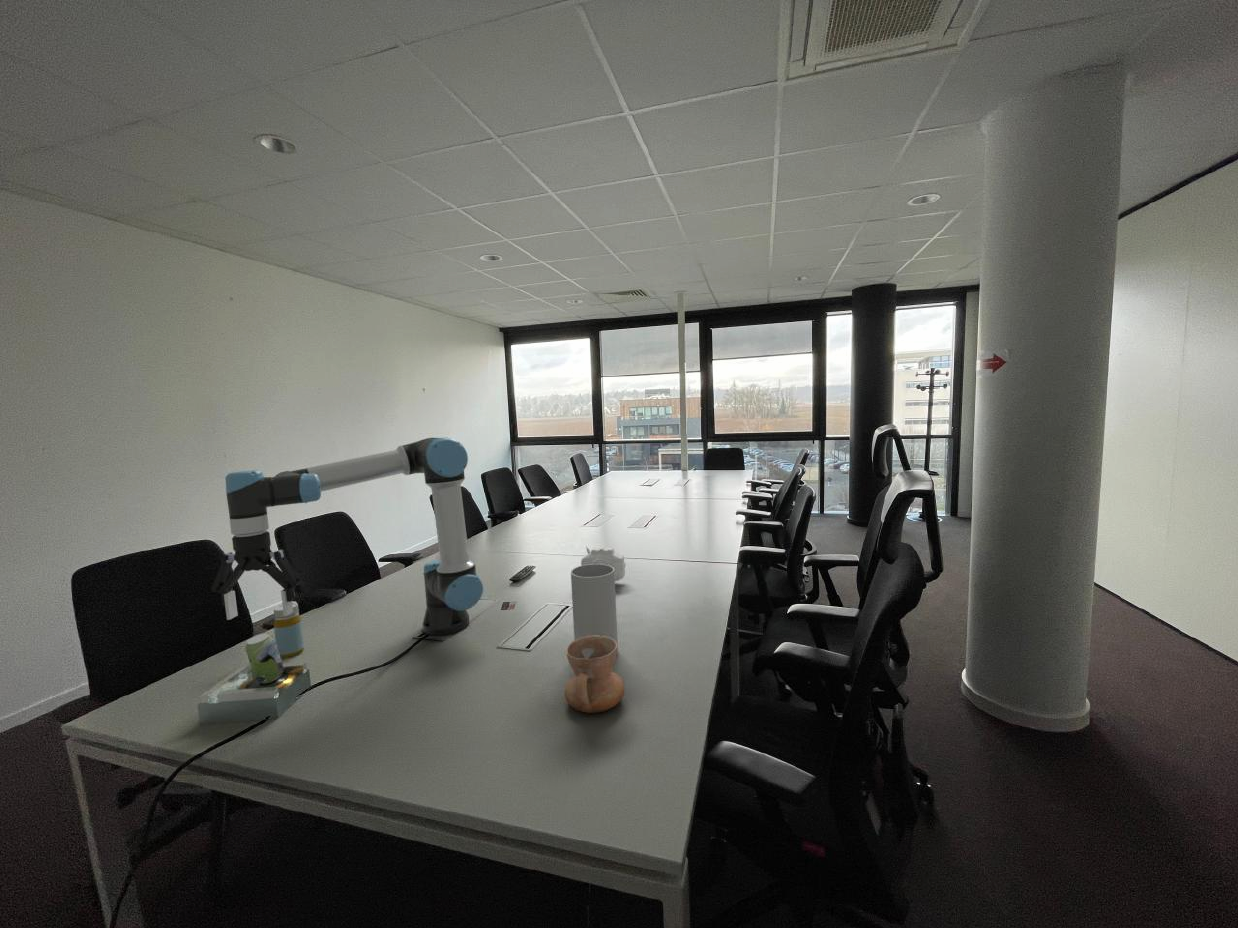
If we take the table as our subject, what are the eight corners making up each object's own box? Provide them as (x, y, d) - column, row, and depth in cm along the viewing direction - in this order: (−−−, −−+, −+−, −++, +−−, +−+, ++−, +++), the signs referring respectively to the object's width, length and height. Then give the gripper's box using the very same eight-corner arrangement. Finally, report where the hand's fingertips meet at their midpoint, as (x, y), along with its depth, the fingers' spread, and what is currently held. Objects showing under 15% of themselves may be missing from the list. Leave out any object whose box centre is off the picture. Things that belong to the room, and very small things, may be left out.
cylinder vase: (625, 647, 147) (621, 566, 144) (606, 667, 135) (602, 579, 133) (588, 641, 152) (584, 562, 150) (567, 660, 141) (562, 575, 138)
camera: (586, 580, 210) (584, 543, 209) (627, 580, 207) (625, 543, 206) (579, 589, 200) (577, 550, 198) (623, 589, 197) (621, 550, 195)
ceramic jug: (580, 679, 130) (576, 628, 128) (633, 685, 125) (630, 632, 124) (551, 722, 113) (546, 663, 111) (611, 730, 108) (607, 669, 107)
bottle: (290, 659, 149) (285, 611, 148) (271, 658, 151) (266, 610, 149) (309, 648, 156) (304, 602, 155) (291, 647, 157) (286, 602, 156)
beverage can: (290, 674, 128) (285, 630, 127) (262, 689, 121) (256, 642, 120) (272, 671, 130) (267, 628, 129) (244, 686, 123) (238, 640, 122)
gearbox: (311, 686, 132) (308, 661, 132) (278, 718, 118) (275, 690, 118) (241, 691, 131) (238, 666, 131) (200, 724, 117) (196, 696, 117)
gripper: (311, 526, 127) (319, 606, 129) (209, 532, 125) (219, 613, 127) (293, 533, 119) (303, 618, 121) (185, 539, 118) (197, 625, 120)
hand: (260, 615), depth 124 cm, fingers open, 13 cm apart
